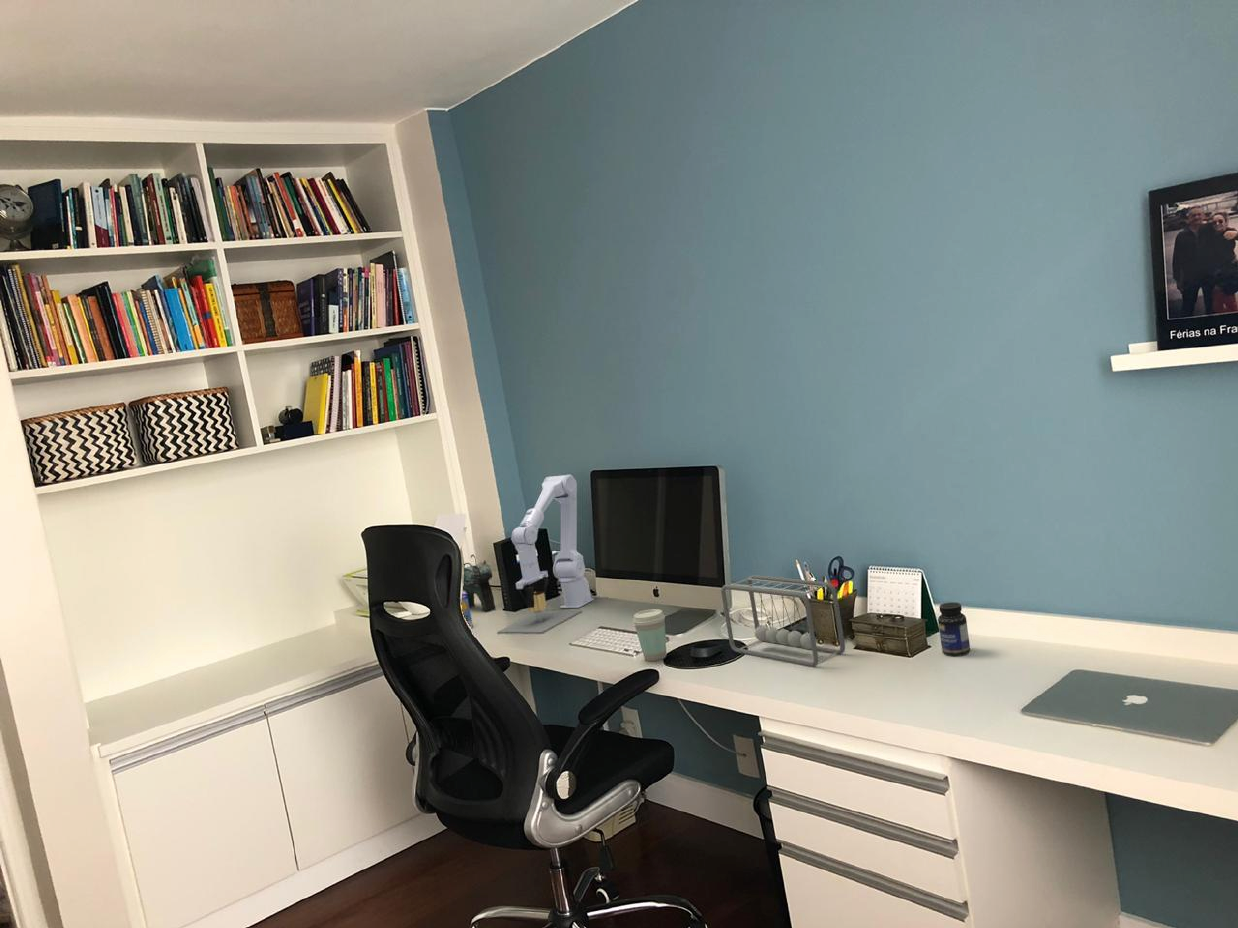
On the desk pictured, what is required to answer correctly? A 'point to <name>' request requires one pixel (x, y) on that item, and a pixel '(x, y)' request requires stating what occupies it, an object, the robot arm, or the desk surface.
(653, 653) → the coffee cup
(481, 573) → the toy ray gun
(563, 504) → the robot arm
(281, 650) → the desk surface
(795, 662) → the newton's cradle
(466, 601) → the ink cartridge box
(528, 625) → the grey square plate
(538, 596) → the wooden link ring
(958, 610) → the pill bottle
